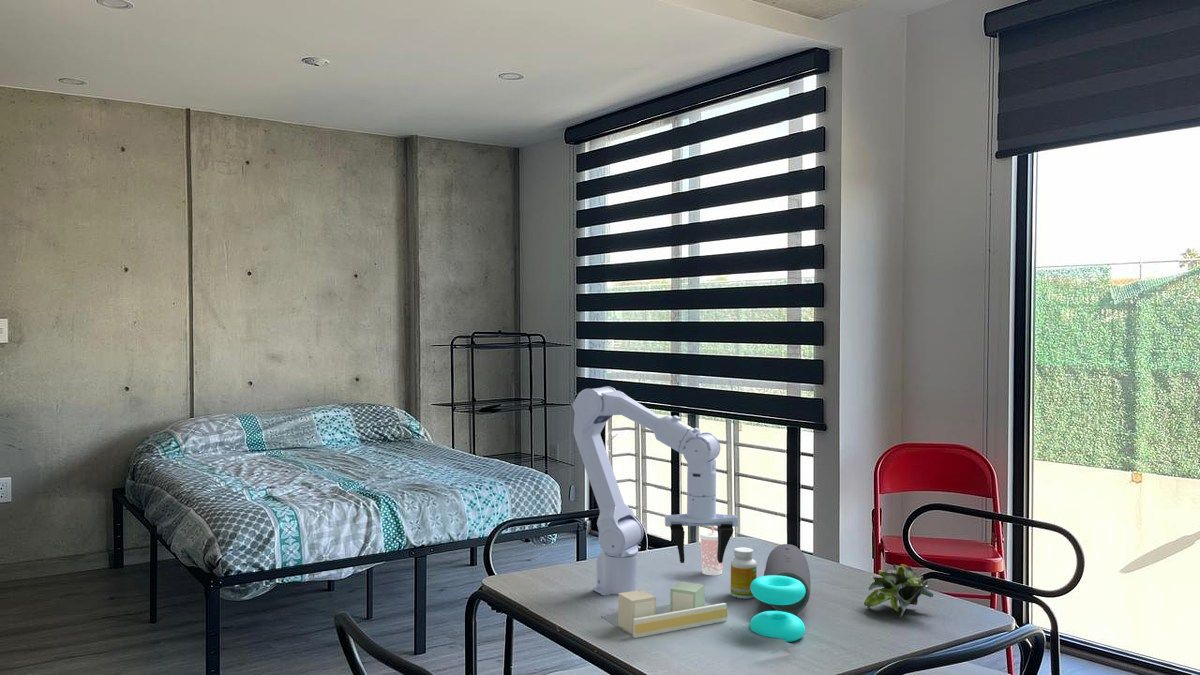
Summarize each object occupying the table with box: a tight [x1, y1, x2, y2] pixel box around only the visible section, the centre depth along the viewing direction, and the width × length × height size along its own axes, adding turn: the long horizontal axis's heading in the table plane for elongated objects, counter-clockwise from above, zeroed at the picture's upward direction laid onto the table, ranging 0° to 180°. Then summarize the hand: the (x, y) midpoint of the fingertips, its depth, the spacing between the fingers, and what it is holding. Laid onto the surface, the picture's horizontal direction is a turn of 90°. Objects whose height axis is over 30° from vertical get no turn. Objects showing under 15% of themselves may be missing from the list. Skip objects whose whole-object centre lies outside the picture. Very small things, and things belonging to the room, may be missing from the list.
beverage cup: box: [699, 526, 724, 576], centre depth 202 cm, size 6×6×14 cm
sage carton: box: [669, 581, 706, 612], centre depth 167 cm, size 5×5×6 cm
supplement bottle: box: [730, 546, 758, 600], centre depth 185 cm, size 5×5×10 cm
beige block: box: [617, 589, 657, 634], centre depth 162 cm, size 5×5×6 cm
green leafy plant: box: [863, 563, 934, 619], centre depth 175 cm, size 11×11×12 cm
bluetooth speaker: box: [763, 543, 811, 615], centre depth 181 cm, size 23×9×10 cm, turn 168°
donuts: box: [749, 575, 806, 643], centre depth 162 cm, size 10×10×10 cm
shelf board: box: [600, 602, 728, 639], centre depth 167 cm, size 13×20×4 cm, turn 118°
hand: (700, 561), depth 177 cm, fingers open, 7 cm apart
